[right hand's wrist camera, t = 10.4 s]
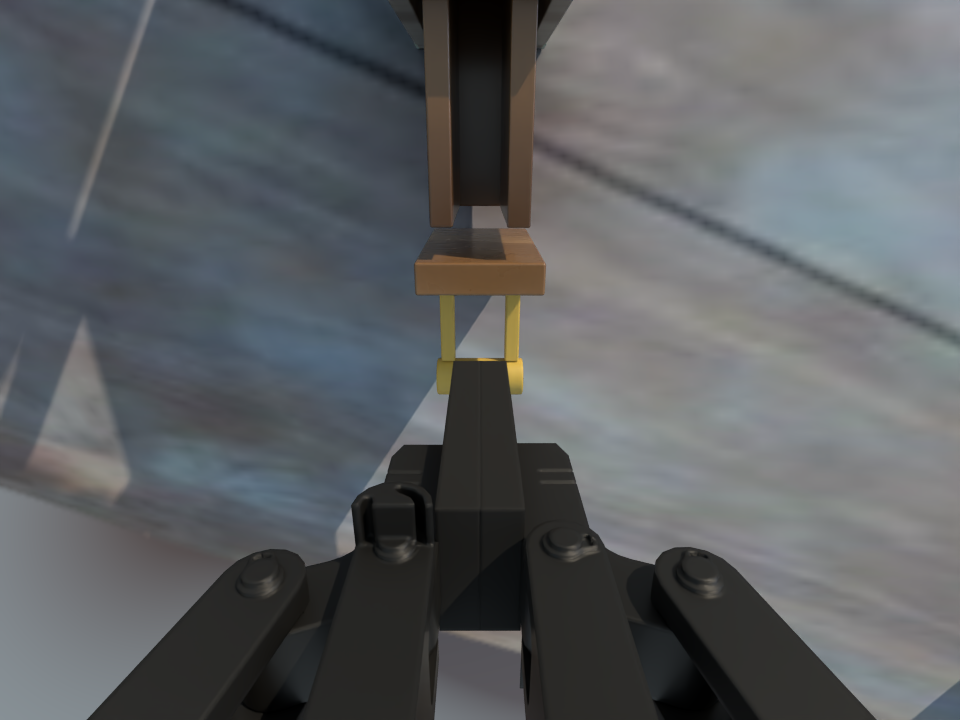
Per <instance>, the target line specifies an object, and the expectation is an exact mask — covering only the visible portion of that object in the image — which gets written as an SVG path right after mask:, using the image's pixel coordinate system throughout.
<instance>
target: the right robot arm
mask: <svg viewBox="0 0 960 720" xmlns="http://www.w3.org/2000/svg"><path fill="white" fill-rule="evenodd" d="M351 508H352V517H353V526H354V535H355V544H356V546H355V550H353V551H352V552H350V553H348V554H346V555H345V556H343V557H340V558H337V559H334V560H331V561H328V562H324V563H320V564H316V565H311V566H307V567H305V563H304V561H303V560H302V559H301V558H300V557H299V555H298V554H295V553H293V552H290V551H288V550H280V549H269V550H265V551H261V552H256V553H253V554H251V555H249V556H247V557H245V558H242V559H240V560H238V561H237V562H236V563H234V564H233V565H232V566H231V567H230V568H228V569H227V570H226V571H225V572H224V573H223V574H222V575H221V576H220V577H219V578H218V579H217V580H216V581H215V582H214V584H213V585H212V586H211V587H210V588H209V589H208V590H207V591H206V592H205V593H204V594H203V595H202V596H201V598H200V599H199V600H198V601H197V602H196V603H195V604H194V605H193V606H192V607H191V608H190V609H189V610H188V612H187V613H186V614H185V615H184V616H183V617H182V618H181V619H180V620H179V621H178V622H177V623H176V624H175V626H174V627H173V628H172V629H171V630H170V631H169V632H168V633H167V634H166V635H165V636H164V637H163V638H162V639H161V641H160V642H159V643H158V644H157V645H156V646H155V647H154V648H153V649H152V650H151V651H150V652H149V653H148V655H147V656H146V657H145V658H144V659H143V660H142V661H141V662H140V663H139V664H138V665H137V666H136V667H135V668H134V670H133V671H132V672H131V673H130V674H129V675H128V676H127V677H126V678H125V679H124V680H123V681H122V682H121V684H120V685H119V686H118V687H117V688H116V689H115V690H114V691H113V692H112V693H111V694H110V695H109V697H108V698H107V699H106V700H105V701H104V702H103V703H102V704H101V705H100V706H99V707H98V708H97V709H96V710H95V712H94V713H93V714H92V715H91V716H90V717H89V718H88V719H87V720H434V714H435V702H436V689H437V676H438V663H439V649H438V632H439V630H440V631H521V629H522V648H521V673H520V688H524V701H525V714H526V720H876V719H875V718H874V716H873V715H872V714H871V713H870V712H869V711H868V710H867V709H866V708H865V707H864V706H863V705H862V704H861V703H860V702H859V700H858V699H857V698H856V697H855V696H854V695H853V694H852V693H851V692H850V691H849V690H848V689H847V688H846V687H845V685H844V684H843V683H842V682H841V681H840V680H839V679H838V678H837V677H836V676H835V675H834V674H833V673H832V672H831V671H830V669H829V668H828V667H827V666H826V665H825V664H824V663H823V662H822V661H821V660H820V659H819V658H818V657H817V656H816V654H815V653H814V652H813V651H812V650H811V649H810V648H809V647H808V646H807V645H806V644H805V643H804V642H803V641H802V640H801V638H800V637H799V636H798V635H797V634H796V633H795V632H794V631H793V630H792V629H791V628H790V627H789V626H788V625H787V623H786V622H785V621H784V620H783V619H782V618H781V617H780V616H779V615H778V614H777V613H776V612H775V611H774V610H773V609H772V607H771V606H770V605H769V604H768V603H767V602H766V601H765V600H764V599H763V598H762V597H761V596H760V595H759V594H758V592H757V591H756V590H755V589H754V588H753V587H752V586H751V585H750V584H749V583H748V582H747V581H746V580H745V579H744V578H743V576H742V575H741V574H740V573H739V572H738V571H737V570H736V569H735V568H734V567H732V566H731V565H730V564H729V563H727V562H726V561H725V560H724V559H722V558H720V557H718V556H716V555H714V554H712V553H710V552H708V551H705V550H700V549H696V548H692V547H677V548H672V549H670V550H667V551H665V552H663V553H662V554H661V555H660V556H659V557H658V559H657V560H656V562H655V565H653V564H649V563H645V562H641V561H636V560H632V559H629V558H626V557H623V556H620V555H618V554H616V553H614V552H612V551H610V550H608V549H607V548H605V546H604V544H603V542H602V540H601V539H600V537H599V535H598V534H596V533H595V532H594V531H592V530H591V529H590V528H589V525H588V521H587V518H586V514H585V511H584V508H583V504H582V501H581V497H580V494H579V490H578V487H577V484H576V480H575V477H574V473H573V472H572V466H571V463H570V459H569V456H568V455H567V454H566V453H565V452H564V451H563V450H562V449H561V448H560V447H559V446H558V445H557V444H556V443H517V440H516V432H515V424H514V416H513V408H512V400H511V392H510V384H509V376H508V368H507V361H453V368H452V376H451V384H450V392H449V400H448V408H447V416H446V424H445V432H444V440H443V445H404V446H402V447H401V448H400V449H399V450H398V451H397V452H396V453H395V454H394V455H393V456H392V458H391V461H390V465H389V468H388V474H387V475H386V479H385V482H384V483H381V484H379V485H376V486H373V487H370V488H368V489H367V490H365V491H364V492H362V493H361V494H359V495H358V496H357V497H356V499H355V500H354V502H353V503H352V505H351Z"/></svg>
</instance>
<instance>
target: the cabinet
mask: <svg viewBox="0 0 960 720" xmlns="http://www.w3.org/2000/svg"><path fill="white" fill-rule="evenodd" d="M388 1H389V3H390V5H391V6H392V8H393V9H394V11H395V13H396V14H397V16H398V18H399V19H400V21H401V22H402V24H403V26H404V27H405V29H406V30H407V32H408V34H409V35H410V37H411V39H412V40H413V42H414V45H415V46H416V48H417V49H419V48H424V37H423V7H422V0H388ZM572 1H573V0H538V23H537V48H541V49H544V47H545V46H546V43H547V41H548V39H549V38H550V36H551V35H552V33H553V31H554V30H555V28H556V27H557V25H558V23H559V22H560V20H561V19H562V17H563V15H564V14H565V12H566V11H567V9H568V7H569V6H570V4H571V2H572Z"/></svg>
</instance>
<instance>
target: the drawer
mask: <svg viewBox="0 0 960 720" xmlns="http://www.w3.org/2000/svg"><path fill="white" fill-rule="evenodd" d="M422 7H423V37H424V66H425V96H426V125H427V154H428V184H429V213H430V226H431V227H452V226H453V223H454V220H455V218H456V215H457V212H458V209H459V207H460V206H500V207H501V210H502V213H503V215H504V218H505V221H506V224H507V227H508V228H529V227H530V218H531V190H532V162H533V134H534V106H535V79H536V51H537V23H538V0H422ZM545 274H546V264H545V262H544V260H543V259H542V257H541V255H540V253H539V252H538V250H537V248H536V246H535V245H534V243H533V241H532V239H531V238H530V236H529V234H528V232H527V231H526V229H434V231H433V232H432V234H431V236H430V238H429V239H428V241H427V243H426V245H425V246H424V248H423V250H422V251H421V253H420V255H419V257H418V258H417V260H416V262H415V264H414V275H415V293H416V295H440V324H441V358H438V361H437V392H438V394H449V392H450V384H451V376H452V368H453V361H507V368H508V376H509V384H510V392H511V394H522V391H523V362H522V359H521V358H518V353H519V320H520V295H544V293H545ZM454 295H505V346H504V358H455V356H456V355H455V299H454Z"/></svg>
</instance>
